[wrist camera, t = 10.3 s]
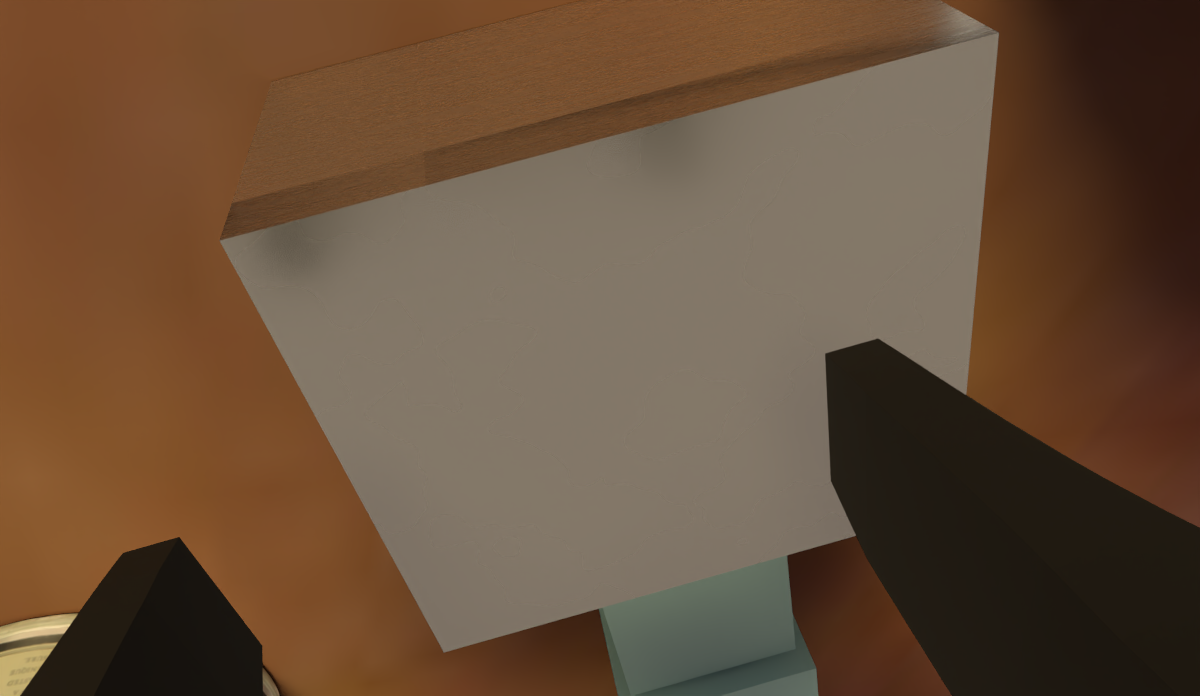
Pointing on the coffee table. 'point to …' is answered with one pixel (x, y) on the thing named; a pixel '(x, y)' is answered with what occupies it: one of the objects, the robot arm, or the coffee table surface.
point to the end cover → (712, 638)
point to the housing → (613, 279)
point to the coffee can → (45, 652)
